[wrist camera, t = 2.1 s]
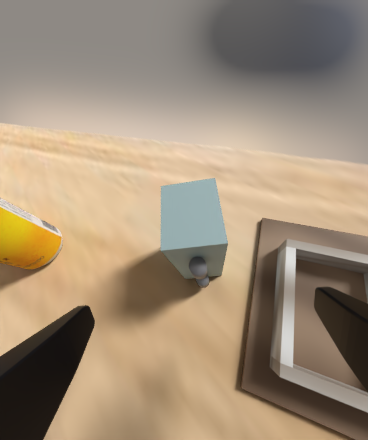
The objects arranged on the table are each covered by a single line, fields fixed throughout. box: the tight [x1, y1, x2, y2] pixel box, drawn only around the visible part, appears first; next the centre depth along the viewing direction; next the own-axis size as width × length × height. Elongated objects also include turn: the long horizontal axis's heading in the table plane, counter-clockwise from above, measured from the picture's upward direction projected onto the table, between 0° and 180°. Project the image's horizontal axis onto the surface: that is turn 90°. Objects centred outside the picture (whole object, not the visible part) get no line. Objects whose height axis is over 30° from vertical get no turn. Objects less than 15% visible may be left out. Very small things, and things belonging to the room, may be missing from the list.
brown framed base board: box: [241, 218, 368, 440], centre depth 14 cm, size 16×12×3 cm
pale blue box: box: [161, 178, 228, 288], centre depth 15 cm, size 6×4×10 cm, turn 4°
